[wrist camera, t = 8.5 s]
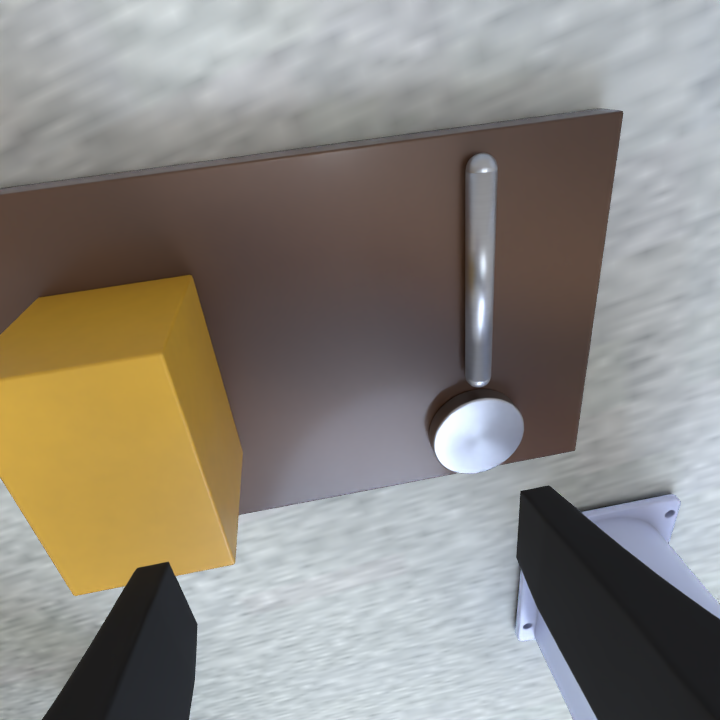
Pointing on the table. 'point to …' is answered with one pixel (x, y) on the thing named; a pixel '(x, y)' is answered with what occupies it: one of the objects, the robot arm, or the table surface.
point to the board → (349, 286)
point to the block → (120, 433)
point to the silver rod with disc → (478, 345)
